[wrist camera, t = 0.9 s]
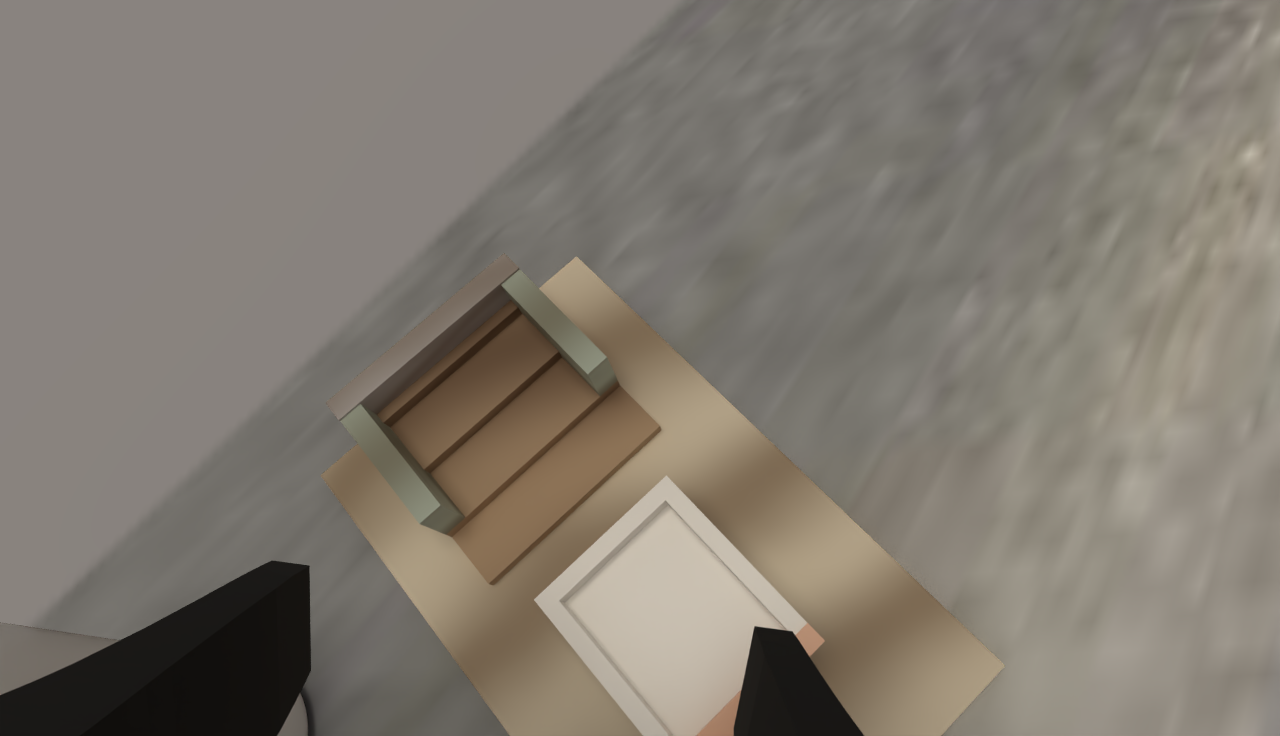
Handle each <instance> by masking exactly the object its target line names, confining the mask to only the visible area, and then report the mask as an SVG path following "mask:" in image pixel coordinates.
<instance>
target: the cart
mask: <svg viewBox="0 0 1280 736" xmlns="http://www.w3.org/2000/svg"><path fill="white" fill-rule="evenodd" d="M534 601H535V602H536V603H537V604H538V605H539V607H540V608H541V609H542V610H543V612H544V613H545V614H546V615H547V617H548V618H549V619H550V620H551V622H552V623H553V624H554V625H555V627H556V628H557V629H558V630H559V632H560V633H561V634H562V635H563V637H564V638H565V639H566V640H567V642H568V643H569V644H570V645H571V647H572V648H573V649H574V650H575V652H576V653H577V654H578V655H579V657H580V658H581V659H582V660H583V662H584V663H585V664H586V665H587V667H588V668H589V669H590V670H591V672H592V673H593V674H594V675H595V677H596V678H597V679H598V680H599V681H600V683H601V684H602V685H603V686H604V688H605V689H606V690H607V691H608V693H609V694H610V695H611V696H612V698H613V699H614V700H615V701H616V703H617V704H618V705H619V706H620V708H621V709H622V710H623V711H624V713H625V714H626V715H627V716H628V718H629V719H630V720H631V721H632V723H633V724H634V725H635V726H636V728H637V729H638V730H639V731H640V733H641V734H642V735H643V736H733V735H734V724H735V719H736V714H737V709H738V704H739V699H740V694H741V689H742V685H743V680H744V675H745V670H746V665H747V660H748V655H749V650H750V646H751V641H752V636H753V631H754V626H757V627H765V628H772V629H779V630H787V631H793V633H794V634H795V636H796V637H797V638H798V640H799V641H800V643H801V644H802V646H803V647H804V649H805V650H806V652H807V653H808V655H809V657H810V656H811V655H812V654H813V653H814V652H815V651H816V650H817V649H818V648H819V647H820V646H821V645H822V644H823V643H824V642H825V640H824V639H823V638H822V637H821V636H820V635H819V634H818V633H817V632H816V631H815V630H814V629H813V628H812V627H811V626H810V625H809V624H808V623H807V622H806V621H805V620H804V619H803V618H802V617H801V616H800V615H799V614H798V613H797V611H796V610H795V609H794V608H793V607H792V606H791V605H790V604H789V603H788V602H787V601H786V600H785V599H784V598H783V597H782V596H781V595H780V594H779V593H778V592H777V591H776V589H775V588H774V587H773V586H772V585H771V584H770V583H769V582H768V581H767V580H766V579H765V578H764V577H763V576H762V575H761V574H760V573H759V572H758V571H757V570H756V569H755V568H754V566H753V565H752V564H751V563H750V562H749V561H748V560H747V559H746V558H745V557H744V556H743V555H742V554H741V553H740V552H739V551H738V550H737V549H736V548H735V547H734V546H733V544H732V543H731V542H730V541H729V540H728V539H727V538H726V537H725V536H724V535H723V534H722V533H721V532H720V531H719V530H718V529H717V528H716V527H715V526H714V525H713V524H712V523H711V521H710V520H709V519H708V518H707V517H706V516H705V515H704V514H703V513H702V512H701V511H700V510H699V509H698V508H697V507H696V506H695V505H694V504H693V503H692V502H691V501H690V499H689V498H688V497H687V496H686V495H685V494H684V493H683V492H682V491H681V490H680V489H679V488H678V487H677V486H676V485H675V484H674V483H673V482H672V481H671V480H670V479H669V478H668V476H667V475H666V476H665V477H664V478H663V479H662V480H661V481H660V482H659V483H658V484H657V485H656V486H655V487H654V488H652V489H651V490H650V491H649V492H648V493H647V494H646V495H645V496H644V497H643V498H642V499H641V500H640V501H639V502H638V503H636V504H635V505H634V506H633V507H632V508H631V509H630V510H629V511H628V512H627V513H626V514H625V515H624V516H623V517H622V518H620V519H619V520H618V521H617V522H616V523H615V524H614V525H613V526H612V527H611V528H610V529H609V530H608V531H607V532H605V533H604V534H603V535H602V536H601V537H600V538H599V539H598V540H597V541H596V542H595V543H594V544H593V545H592V546H591V547H589V548H588V549H587V550H586V551H585V552H584V553H583V554H582V555H581V556H580V557H579V558H578V559H577V560H576V561H575V562H573V563H572V564H571V565H570V566H569V567H568V568H567V569H566V570H565V571H564V572H563V573H562V574H561V575H560V576H559V577H557V578H556V579H555V580H554V581H553V582H552V583H551V584H550V585H549V586H548V587H547V588H546V589H545V590H544V591H543V592H541V593H540V594H539V595H538V596H537V597H536V598H535V599H534Z"/></svg>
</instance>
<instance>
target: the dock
mask: <svg viewBox="0 0 1280 736" xmlns="http://www.w3.org/2000/svg"><path fill="white" fill-rule="evenodd" d="M326 404H327V406H328V407H329V408H330V409H331V411H332V412H333V413H334V415H335V416H336V417H337V419H338V420H339V421H341V423H342V424H343V425H344V426H345V428H346V429H347V430H348V432H349V433H350V434H351V436H352V437H353V438H354V439H355V441H356V442H357V443H358V444H357V445H355V446H354V447H353V448H352V449H351V450H350V451H348V452H347V453H346V454H345V455H344V456H343V457H341V458H340V459H339V460H338V461H337V462H336V463H334V464H333V465H332V466H331V467H330V468H329V469H327V470H326V471H325V472H324V473H323V474H322V475H321V477H322V478H323V479H324V481H325V482H326V484H327V485H328V486H329V488H330V489H331V490H332V492H333V493H334V495H335V496H336V497H337V499H338V500H339V501H340V503H341V504H342V506H343V507H344V508H345V510H346V511H347V512H348V514H349V515H350V517H351V518H352V519H353V521H354V522H355V523H356V525H357V526H358V528H359V529H360V530H361V532H362V533H363V534H364V536H365V537H366V539H367V540H368V541H369V543H370V544H371V545H372V547H373V548H374V550H375V551H376V552H377V554H378V555H379V556H380V558H381V559H382V561H383V562H384V563H385V565H386V566H387V567H388V569H389V570H390V571H391V573H392V574H393V576H394V577H395V578H396V580H397V581H398V582H399V584H400V585H401V587H402V588H403V589H404V591H405V592H406V593H407V595H408V596H409V598H410V599H411V600H412V602H413V603H414V604H415V606H416V607H417V609H418V610H419V611H420V613H421V614H422V615H423V617H424V618H425V620H426V621H427V622H428V624H429V625H430V626H431V628H432V629H433V631H434V632H435V633H436V635H437V636H438V637H439V639H440V640H441V642H442V643H443V644H444V646H445V647H446V648H447V650H448V651H449V653H450V654H451V655H452V657H453V658H454V659H455V661H456V662H457V664H458V665H459V666H460V668H461V669H462V670H463V672H464V673H465V675H466V676H467V677H468V679H469V680H470V681H471V683H472V684H473V686H474V687H475V688H476V690H477V691H478V692H479V694H480V695H481V697H482V698H483V699H484V701H485V702H486V703H487V705H488V706H489V707H490V709H491V710H492V712H493V713H494V714H495V716H496V717H497V718H498V720H499V721H500V723H501V724H502V725H503V727H504V728H505V729H506V731H507V732H508V734H509V735H510V736H643V735H642V734H641V733H640V731H639V730H638V729H637V728H636V726H635V725H634V724H633V723H632V721H631V720H630V719H629V718H628V716H627V715H626V714H625V713H624V711H623V710H622V709H621V708H620V706H619V705H618V704H617V703H616V701H615V700H614V699H613V698H612V696H611V695H610V694H609V693H608V691H607V690H606V689H605V688H604V686H603V685H602V684H601V683H600V681H599V680H598V679H597V678H596V677H595V675H594V674H593V673H592V672H591V670H590V669H589V668H588V667H587V665H586V664H585V663H584V662H583V660H582V659H581V658H580V657H579V655H578V654H577V653H576V652H575V650H574V649H573V648H572V647H571V645H570V644H569V643H568V642H567V640H566V639H565V638H564V637H563V635H562V634H561V633H560V632H559V630H558V629H557V628H556V627H555V625H554V624H553V623H552V622H551V620H550V619H549V618H548V617H547V615H546V614H545V613H544V612H543V610H542V609H541V608H540V607H539V605H538V604H537V603H536V602H535V601H534V599H535V598H536V597H537V596H538V595H539V594H540V593H541V592H543V591H544V590H545V589H546V588H547V587H548V586H549V585H550V584H551V583H552V582H553V581H554V580H555V579H556V578H557V577H559V576H560V575H561V574H562V573H563V572H564V571H565V570H566V569H567V568H568V567H569V566H570V565H571V564H572V563H573V562H575V561H576V560H577V559H578V558H579V557H580V556H581V555H582V554H583V553H584V552H585V551H586V550H587V549H588V548H589V547H591V546H592V545H593V544H594V543H595V542H596V541H597V540H598V539H599V538H600V537H601V536H602V535H603V534H604V533H605V532H607V531H608V530H609V529H610V528H611V527H612V526H613V525H614V524H615V523H616V522H617V521H618V520H619V519H620V518H622V517H623V516H624V515H625V514H626V513H627V512H628V511H629V510H630V509H631V508H632V507H633V506H634V505H635V504H636V503H638V502H639V501H640V500H641V499H642V498H643V497H644V496H645V495H646V494H647V493H648V492H649V491H650V490H651V489H652V488H654V487H655V486H656V485H657V484H658V483H659V482H660V481H661V480H662V479H663V478H664V477H665V476H666V475H667V476H668V478H669V479H670V480H671V481H672V482H673V483H674V484H675V485H676V486H677V487H678V488H679V489H680V490H681V491H682V492H683V493H684V494H685V495H686V496H687V497H688V498H689V499H690V501H691V502H692V503H693V504H694V505H695V506H696V507H697V508H698V509H699V510H700V511H701V512H702V513H703V514H704V515H705V516H706V517H707V518H708V519H709V520H710V521H711V523H712V524H713V525H714V526H715V527H716V528H717V529H718V530H719V531H720V532H721V533H722V534H723V535H724V536H725V537H726V538H727V539H728V540H729V541H730V542H731V543H732V544H733V546H734V547H735V548H736V549H737V550H738V551H739V552H740V553H741V554H742V555H743V556H744V557H745V558H746V559H747V560H748V561H749V562H750V563H751V564H752V565H753V566H754V568H755V569H756V570H757V571H758V572H759V573H760V574H761V575H762V576H763V577H764V578H765V579H766V580H767V581H768V582H769V583H770V584H771V585H772V586H773V587H774V588H775V589H776V591H777V592H778V593H779V594H780V595H781V596H782V597H783V598H784V599H785V600H786V601H787V602H788V603H789V604H790V605H791V606H792V607H793V608H794V609H795V610H796V611H797V613H798V614H799V615H800V616H801V617H802V618H803V619H804V620H805V621H806V622H807V623H808V624H809V625H810V626H811V627H812V628H813V629H814V630H815V631H816V632H817V633H818V634H819V635H820V636H821V637H822V638H823V639H824V640H825V642H824V643H823V644H822V645H821V646H820V647H819V648H818V649H817V650H816V651H815V652H814V653H813V654H812V655H811V656H810V658H811V660H812V661H813V663H814V664H815V666H816V667H817V669H818V670H819V672H820V673H821V675H822V676H823V678H824V679H825V681H826V682H827V684H828V685H829V687H830V688H831V690H832V691H833V693H834V694H835V696H836V697H837V698H838V700H839V701H840V703H841V704H842V706H843V707H844V708H845V710H846V711H847V713H848V714H849V715H850V717H851V718H852V719H853V721H854V722H855V724H856V725H857V726H858V728H859V729H860V730H861V732H862V733H863V735H864V736H941V735H942V734H943V733H944V732H945V731H946V730H947V729H948V728H949V727H950V726H951V724H952V723H953V722H954V721H955V720H956V719H957V718H958V717H959V716H960V715H961V714H962V712H963V711H964V710H965V709H966V708H967V707H968V706H969V705H970V704H971V703H972V702H973V700H974V699H975V698H976V697H977V696H978V695H979V694H980V693H981V692H982V691H983V690H984V688H985V687H986V686H987V685H988V684H989V683H990V682H991V681H992V680H993V679H994V677H995V676H996V675H997V674H998V673H999V672H1000V671H1001V670H1002V669H1003V668H1004V667H1005V665H1004V664H1003V663H1002V662H1001V661H1000V660H999V659H998V658H997V657H996V656H995V655H993V654H992V653H991V652H990V651H989V650H988V649H987V648H986V647H985V646H984V645H983V644H982V643H981V642H980V641H979V640H978V639H977V638H976V637H975V636H974V635H973V634H971V633H970V632H969V631H968V630H967V629H966V628H965V627H964V626H963V625H962V624H961V623H960V622H959V621H958V620H957V619H956V618H955V617H954V616H953V615H952V614H951V613H949V612H948V611H947V610H946V609H945V608H944V607H943V606H942V605H941V604H940V603H939V602H938V601H937V600H936V599H935V598H934V597H933V596H932V595H931V594H930V593H929V592H927V591H926V590H925V589H924V588H923V587H922V586H921V585H920V584H919V583H918V582H917V581H916V580H915V579H914V578H913V577H912V576H911V575H910V574H909V573H908V572H907V571H905V570H904V569H903V568H902V567H901V566H900V565H899V564H898V563H897V562H896V561H895V560H894V559H893V558H892V557H891V556H890V555H889V554H888V553H887V552H886V551H885V550H883V549H882V548H881V547H880V546H879V545H878V544H877V543H876V542H875V541H874V540H873V539H872V538H871V537H870V536H869V535H868V534H867V533H866V532H865V531H864V530H863V529H861V528H860V527H859V526H858V525H857V524H856V523H855V522H854V521H853V520H852V519H851V518H850V517H849V516H848V515H847V514H846V513H845V512H844V511H843V510H842V509H841V508H839V507H838V506H837V505H836V504H835V503H834V502H833V501H832V500H831V499H830V498H829V497H828V496H827V495H826V494H825V493H824V492H823V491H822V490H821V489H820V488H819V487H817V486H816V485H815V484H814V483H813V482H812V481H811V480H810V479H809V478H808V477H807V476H806V475H805V474H804V473H803V472H802V471H801V470H800V469H799V468H798V467H797V466H795V465H794V464H793V463H792V462H791V461H790V460H789V459H788V458H787V457H786V456H785V455H784V454H783V453H782V452H781V451H780V450H779V449H778V448H777V447H776V446H775V445H774V444H772V443H771V442H770V441H769V440H768V439H767V438H766V437H765V436H764V435H763V434H762V433H761V432H760V431H759V430H758V429H757V428H756V427H755V426H754V425H753V424H752V423H750V422H749V421H748V420H747V419H746V418H745V417H744V416H743V415H742V414H741V413H740V412H739V411H738V410H737V409H736V408H735V407H734V406H733V405H732V404H731V403H730V402H728V401H727V400H726V399H725V398H724V397H723V396H722V395H721V394H720V393H719V392H718V391H717V390H716V389H715V388H714V387H713V386H712V385H711V384H710V383H709V382H708V381H706V380H705V379H704V378H703V377H702V376H701V375H700V374H699V373H698V372H697V371H696V370H695V369H694V368H693V367H692V366H691V365H690V364H689V363H688V362H687V361H686V360H684V359H683V358H682V357H681V356H680V355H679V354H678V353H677V352H676V351H675V350H674V349H673V348H672V347H671V346H670V345H669V344H668V343H667V342H666V341H665V340H664V339H662V338H661V337H660V336H659V335H658V334H657V333H656V332H655V331H654V330H653V329H652V328H651V327H650V326H649V325H648V324H647V323H646V322H645V321H644V320H643V319H642V318H640V317H639V316H638V315H637V314H636V313H635V312H634V311H633V310H632V309H631V308H630V307H629V306H628V305H627V304H626V303H625V302H624V301H623V300H622V299H621V298H620V297H618V296H617V295H616V294H615V293H614V292H613V291H612V290H611V289H610V288H609V287H608V286H607V285H606V284H605V283H604V282H603V281H602V280H601V279H600V278H599V277H598V276H596V275H595V274H594V273H593V272H592V271H591V270H590V269H589V268H588V267H587V266H586V265H585V264H584V263H583V262H582V261H581V260H580V259H579V258H578V257H577V256H576V257H575V258H574V259H573V260H572V261H571V262H569V263H568V264H567V265H566V266H565V267H564V268H562V269H561V270H560V271H559V272H558V273H557V274H555V275H554V276H553V277H552V278H551V279H550V280H548V281H547V282H546V283H545V284H544V285H543V286H541V287H540V288H538V287H537V286H536V285H535V284H534V283H533V282H532V281H531V280H530V279H529V278H528V277H527V276H526V275H525V274H524V273H523V272H522V271H521V270H520V269H519V267H518V266H517V265H516V264H515V263H514V262H513V261H512V260H511V259H510V258H509V257H508V256H507V255H506V254H505V253H504V254H502V255H501V256H500V257H499V258H498V259H496V260H495V261H494V262H493V263H492V264H490V265H489V266H488V267H487V268H486V269H484V270H483V271H482V272H481V273H480V274H478V275H477V276H476V277H475V278H474V279H472V280H471V281H470V282H469V283H468V284H467V285H465V286H464V287H463V288H462V289H461V290H459V291H458V292H457V293H456V294H455V295H453V296H452V297H451V298H450V299H449V300H447V301H446V302H445V303H444V304H443V305H441V306H440V307H439V308H438V309H437V310H435V311H434V312H433V313H432V314H431V315H430V316H428V317H427V318H426V319H425V320H424V321H422V322H421V323H420V324H419V325H418V326H416V327H415V328H414V329H413V330H412V331H410V332H409V333H408V334H407V335H406V336H404V337H403V338H402V339H401V340H400V341H398V342H397V343H396V344H395V345H394V346H393V347H391V348H390V349H389V350H388V351H387V352H385V353H384V354H383V355H382V356H381V357H379V358H378V359H377V360H376V361H375V362H373V363H372V364H371V365H370V366H369V367H367V368H366V369H365V370H364V371H363V372H361V373H360V374H359V375H358V376H357V377H356V378H354V379H353V380H352V381H351V382H350V383H348V384H347V385H346V386H345V387H344V388H342V389H341V390H340V391H339V392H338V393H336V394H335V395H334V396H333V397H332V398H330V399H329V400H328V401H327V402H326ZM733 736H734V735H733Z"/></svg>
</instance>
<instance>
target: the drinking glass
mask: <svg viewBox="0 0 1280 736" xmlns="http://www.w3.org/2000/svg"><path fill="white" fill-rule="evenodd" d="M118 641H120V640H115V639H108V638H101V637H95V636H88V635H82V634H75V633H68V632H62V631H55V630H48V629H42V628H35V627H28V626H22V625H15V624H7V623H1V622H0V695H2V694H4V693H6V692H9V691H11V690H14V689H16V688H19V687H21V686H23V685H26V684H28V683H31V682H33V681H35V680H38V679H40V678H42V677H44V676H47V675H49V674H51V673H53V672H56V671H58V670H60V669H62V668H64V667H67V666H69V665H71V664H73V663H75V662H77V661H79V660H81V659H83V658H85V657H87V656H89V655H91V654H93V653H96V652H98V651H100V650H102V649H104V648H106V647H108V646H110V645H112V644H114V643H116V642H118ZM277 736H308V720H307V713H306V708H305V704H304V701H303V698H302V696H301V693H300V694H299V696H298V698H297V700H296V702H295V704H294V706H293V708H292V709H291V711H290V713H289V715H288V717H287V719H286V721H285V723H284V725H283V727H282V728H281V730H280V732H279V733H278V735H277Z"/></svg>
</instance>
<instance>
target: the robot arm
mask: <svg viewBox="0 0 1280 736" xmlns="http://www.w3.org/2000/svg"><path fill="white" fill-rule="evenodd" d="M310 671H311V648H310V576H309V566H308V565H301V564H293V563H286V562H279V561H270V562H268V563H266V564H264V565H262V566H260V567H258V568H256V569H254V570H252V571H250V572H248V573H246V574H244V575H242V576H240V577H239V578H237V579H235V580H233V581H231V582H229V583H228V584H226V585H224V586H222V587H220V588H218V589H217V590H215V591H213V592H211V593H209V594H207V595H206V596H204V597H202V598H200V599H198V600H196V601H195V602H193V603H191V604H189V605H187V606H185V607H183V608H182V609H180V610H178V611H176V612H174V613H172V614H170V615H169V616H167V617H165V618H163V619H161V620H159V621H157V622H156V623H154V624H152V625H150V626H148V627H146V628H144V629H142V630H140V631H138V632H136V633H134V634H132V635H130V636H128V637H126V638H124V639H122V640H120V641H118V642H116V643H114V644H112V645H110V646H108V647H106V648H104V649H102V650H100V651H98V652H96V653H93V654H91V655H89V656H87V657H85V658H83V659H81V660H79V661H77V662H75V663H73V664H71V665H69V666H67V667H64V668H62V669H60V670H58V671H56V672H53V673H51V674H49V675H47V676H44V677H42V678H40V679H38V680H35V681H33V682H31V683H28V684H26V685H23V686H21V687H19V688H16V689H14V690H11V691H9V692H6V693H4V694H2V695H0V736H277V735H278V733H279V732H280V730H281V728H282V727H283V725H284V723H285V721H286V719H287V717H288V715H289V713H290V711H291V709H292V708H293V706H294V704H295V702H296V700H297V698H298V696H299V694H300V692H301V690H302V688H303V685H304V683H305V681H306V679H307V677H308V675H309V673H310ZM734 736H864V735H863V733H862V732H861V730H860V729H859V728H858V726H857V725H856V724H855V722H854V721H853V719H852V718H851V717H850V715H849V714H848V713H847V711H846V710H845V708H844V707H843V706H842V704H841V703H840V701H839V700H838V698H837V697H836V696H835V694H834V693H833V691H832V690H831V688H830V687H829V685H828V684H827V682H826V681H825V679H824V678H823V676H822V675H821V673H820V672H819V670H818V669H817V667H816V666H815V664H814V663H813V661H812V660H811V658H810V657H809V655H808V653H807V652H806V650H805V649H804V647H803V646H802V644H801V643H800V641H799V640H798V638H797V637H796V636H795V634H794V633H793V631H787V630H779V629H772V628H765V627H757V626H754V631H753V636H752V641H751V646H750V650H749V655H748V660H747V665H746V670H745V675H744V680H743V685H742V689H741V694H740V699H739V704H738V709H737V714H736V719H735V724H734Z"/></svg>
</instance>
